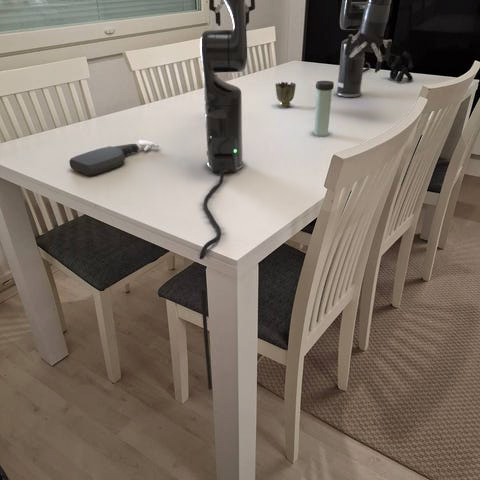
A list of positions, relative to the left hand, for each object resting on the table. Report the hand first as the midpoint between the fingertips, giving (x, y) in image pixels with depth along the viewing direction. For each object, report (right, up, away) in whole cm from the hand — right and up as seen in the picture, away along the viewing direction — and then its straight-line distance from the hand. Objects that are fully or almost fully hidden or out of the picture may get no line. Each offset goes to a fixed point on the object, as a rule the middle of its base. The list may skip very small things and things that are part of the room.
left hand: (232, 25), depth 142 cm
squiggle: (+74, +3, +58) cm, 94 cm away
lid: (+28, -22, -10) cm, 37 cm away
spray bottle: (-32, -46, -17) cm, 59 cm away
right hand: (+44, -11, +7) cm, 46 cm away
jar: (+28, -35, -2) cm, 45 cm away
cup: (+19, -18, +26) cm, 37 cm away
